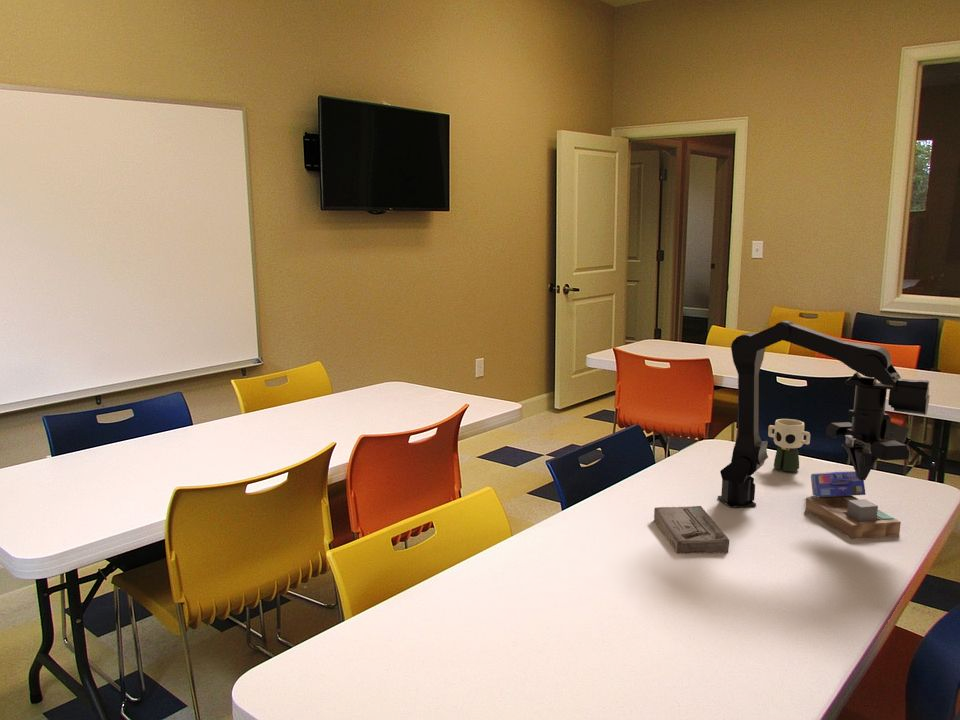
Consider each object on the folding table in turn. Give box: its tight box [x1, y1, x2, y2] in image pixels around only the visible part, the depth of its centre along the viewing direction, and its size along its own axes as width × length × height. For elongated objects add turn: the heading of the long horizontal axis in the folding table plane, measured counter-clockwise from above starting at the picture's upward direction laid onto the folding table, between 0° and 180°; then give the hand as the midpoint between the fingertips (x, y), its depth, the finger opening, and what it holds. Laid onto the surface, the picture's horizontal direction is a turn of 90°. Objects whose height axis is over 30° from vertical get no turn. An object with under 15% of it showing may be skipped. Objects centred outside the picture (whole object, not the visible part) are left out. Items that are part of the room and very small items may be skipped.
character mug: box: [767, 418, 811, 472], centre depth 195 cm, size 11×7×13 cm, turn 46°
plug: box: [847, 498, 879, 522], centre depth 156 cm, size 4×4×6 cm
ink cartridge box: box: [810, 470, 866, 497], centre depth 169 cm, size 10×6×14 cm
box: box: [653, 505, 730, 555], centre depth 153 cm, size 11×17×3 cm, turn 3°
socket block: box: [805, 495, 902, 540], centre depth 160 cm, size 11×16×3 cm
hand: (861, 479), depth 155 cm, fingers closed
